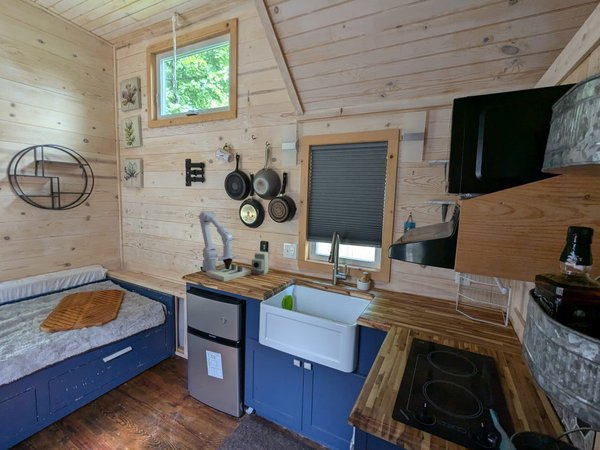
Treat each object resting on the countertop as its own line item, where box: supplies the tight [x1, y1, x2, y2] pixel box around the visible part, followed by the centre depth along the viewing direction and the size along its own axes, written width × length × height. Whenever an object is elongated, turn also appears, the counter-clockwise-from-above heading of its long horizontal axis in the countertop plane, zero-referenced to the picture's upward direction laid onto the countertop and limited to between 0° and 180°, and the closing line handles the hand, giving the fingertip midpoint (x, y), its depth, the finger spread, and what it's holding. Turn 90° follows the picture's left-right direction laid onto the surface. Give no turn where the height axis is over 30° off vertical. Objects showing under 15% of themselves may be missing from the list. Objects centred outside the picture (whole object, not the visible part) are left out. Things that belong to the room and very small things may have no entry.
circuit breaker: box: [251, 250, 270, 275], centre depth 210 cm, size 8×14×15 cm, turn 163°
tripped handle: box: [230, 262, 237, 270], centre depth 208 cm, size 3×2×4 cm, turn 52°
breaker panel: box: [205, 264, 252, 282], centre depth 205 cm, size 20×24×7 cm
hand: (227, 268), depth 204 cm, fingers closed
